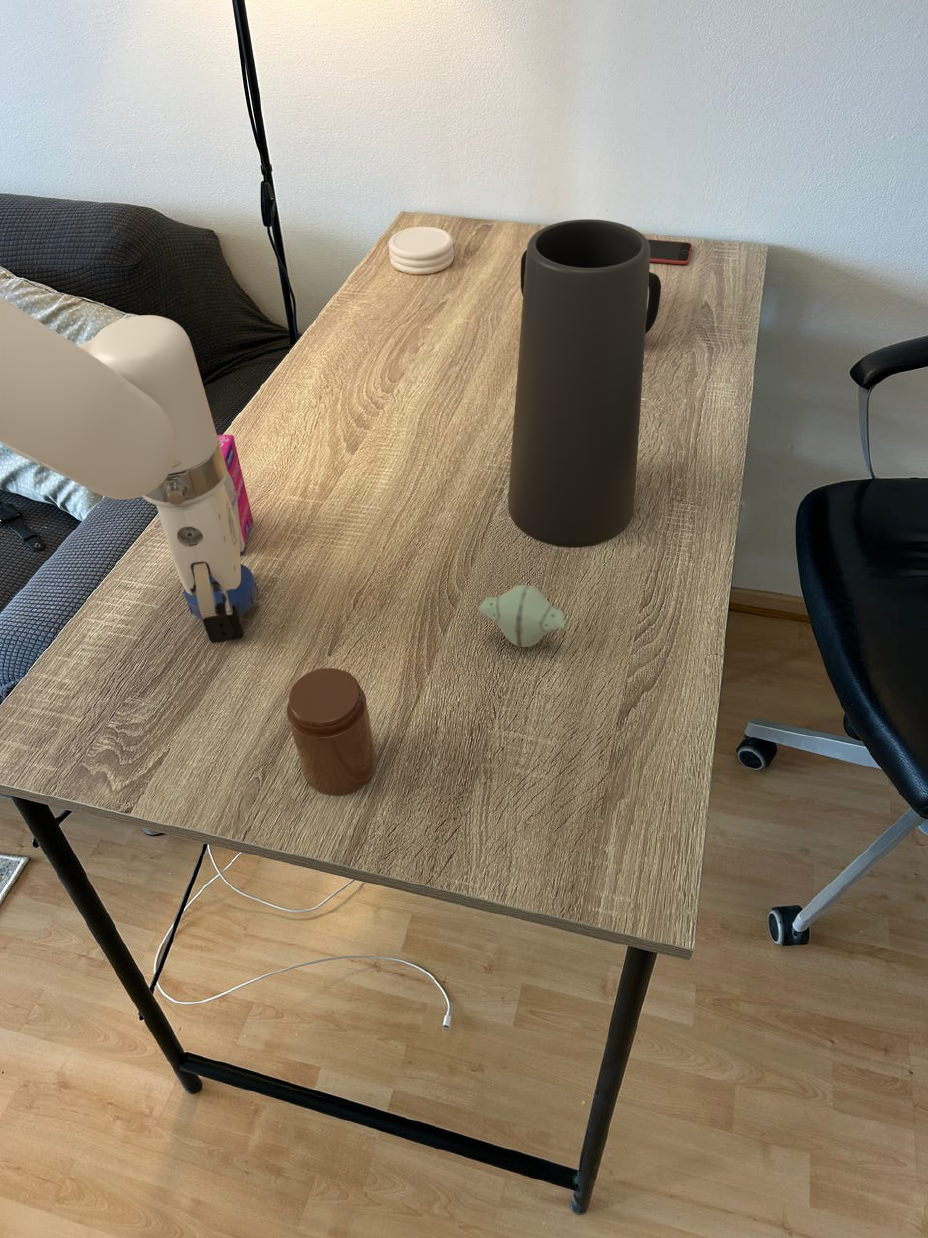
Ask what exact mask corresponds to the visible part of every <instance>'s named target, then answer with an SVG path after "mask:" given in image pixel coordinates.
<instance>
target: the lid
mask: <svg viewBox="0 0 928 1238" xmlns="http://www.w3.org/2000/svg"><path fill="white" fill-rule="evenodd" d="M211 579H212V582H217V581H216V580H215V579H214V578H213V577H211ZM228 591H229V596H230V600H231V604H232V606H236V609H237V612H238V615H239V617H241V616H242V615H244V614H245V613H246V612H248V611H249V610H250V609H251V608H252V607H253V606H254V605H255V602H256V600H257V598H258V592H259V589H258V585H257V582H256V580H255V577H254V573H253V571H251V569H249V567H247V566H246V565H245V564H242V563H241V582H240V584H239V586H238V587H237V588H236V589H230V590H228ZM183 595H184V598H185V602H186V603H187V606H188V609H189V611H190V614H191V615H193V616H194V617H196V618H197V619H199V620H201V621H203V620H202V617H201V613H200V609H199V605H198V601H197V597H196V593H195V594H194V596H192V595H190V594H189V593H187V592H186V590H185V588H184V587H183ZM214 597H215V601H216V603H223V599H222V595H221V591H215V592H214Z"/></svg>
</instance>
